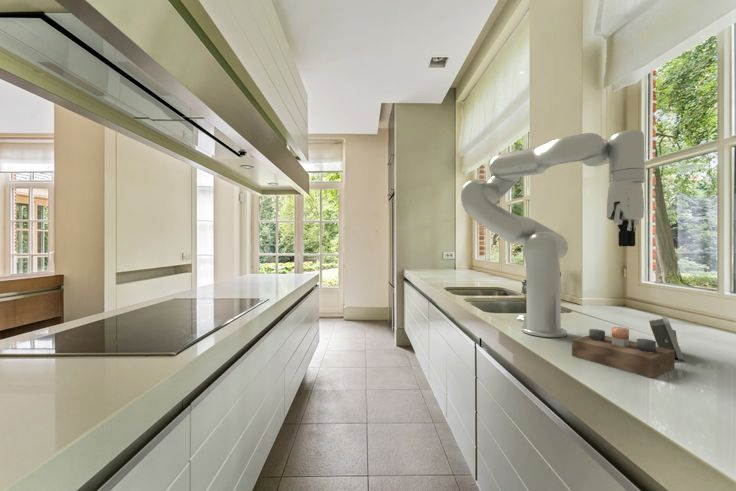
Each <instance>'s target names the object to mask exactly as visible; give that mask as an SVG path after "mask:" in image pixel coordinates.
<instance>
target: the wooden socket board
mask: <svg viewBox="0 0 736 491" xmlns="http://www.w3.org/2000/svg"><path fill="white" fill-rule="evenodd" d="M571 356H572V357H575V358H578V359H583V360H585V361H589V362H593V363H595V364H599V365H604V366H607V367H610V368H614V369H618V370H622V371H625V372H628V373H632V374H635V373H636V375H640V376H642V375H643V376H642V377H646V376H647V377H646V378H649V379H653V378H655V377H657V376H661V375H663V374H664V372H665V373H667V372H670V371H672V370H674V369H675V359H676V357H675V350H670V349H665V348H661V347H658V346H656V352H654V353H652V354H651V353H647V352H643V351H638V350H637V341H632V340H629V346H627V347H621V346H616V345H612V336H608V335H605V341H602V342H599V341H595V340H590V339H589V335H585V336H581V337H577V338H572V339H571ZM662 373H663V374H662Z"/></svg>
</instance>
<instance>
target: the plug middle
mask: <svg viewBox="0 0 736 491" xmlns="http://www.w3.org/2000/svg"><path fill="white" fill-rule="evenodd" d="M611 337H612V345H616V346H621V347H627V346H629V341H630V329H629V328H626V327H621V326H612V327H611Z"/></svg>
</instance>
